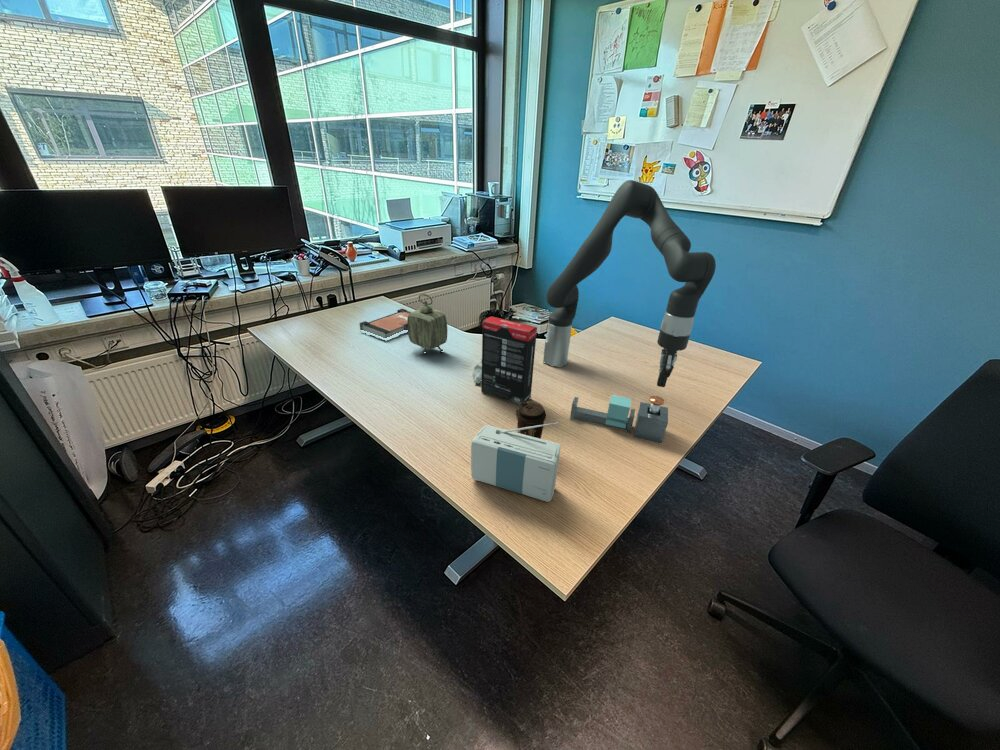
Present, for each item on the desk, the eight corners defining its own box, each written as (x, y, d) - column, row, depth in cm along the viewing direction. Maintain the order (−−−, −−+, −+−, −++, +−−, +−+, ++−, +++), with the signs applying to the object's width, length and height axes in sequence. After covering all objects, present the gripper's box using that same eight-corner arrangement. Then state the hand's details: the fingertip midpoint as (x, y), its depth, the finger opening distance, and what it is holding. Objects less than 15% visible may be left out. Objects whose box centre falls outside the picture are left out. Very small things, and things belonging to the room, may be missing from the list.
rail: (569, 419, 126) (572, 403, 123) (572, 412, 130) (574, 396, 127) (630, 433, 121) (634, 417, 118) (631, 425, 125) (635, 409, 122)
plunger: (644, 420, 118) (649, 401, 114) (645, 413, 121) (650, 394, 118) (658, 423, 116) (664, 404, 113) (659, 416, 120) (664, 397, 116)
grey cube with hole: (633, 437, 119) (639, 415, 115) (635, 423, 126) (640, 401, 122) (661, 443, 117) (668, 421, 113) (661, 428, 123) (667, 407, 120)
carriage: (605, 423, 122) (609, 403, 118) (607, 414, 126) (611, 394, 123) (625, 428, 120) (630, 407, 117) (626, 419, 125) (631, 398, 121)
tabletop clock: (448, 352, 166) (446, 295, 154) (434, 360, 159) (430, 300, 147) (422, 344, 173) (418, 288, 161) (407, 351, 166) (402, 293, 154)
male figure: (511, 338, 158) (487, 368, 138) (510, 359, 163) (487, 391, 143) (485, 334, 161) (458, 362, 141) (485, 354, 166) (459, 385, 146)
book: (386, 342, 174) (385, 332, 172) (360, 333, 182) (359, 323, 180) (428, 325, 193) (427, 316, 191) (403, 317, 202) (402, 308, 199)
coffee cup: (512, 436, 117) (514, 399, 111) (539, 435, 118) (543, 399, 112) (515, 455, 110) (518, 417, 104) (545, 454, 111) (549, 416, 104)
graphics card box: (532, 398, 137) (538, 324, 124) (523, 407, 131) (529, 331, 118) (489, 385, 144) (491, 314, 131) (479, 393, 138) (480, 320, 125)
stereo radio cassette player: (469, 482, 100) (469, 418, 91) (482, 462, 107) (483, 400, 97) (549, 507, 94) (558, 440, 84) (557, 484, 101) (566, 420, 91)
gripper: (661, 319, 111) (647, 373, 120) (660, 336, 100) (646, 394, 109) (689, 323, 109) (674, 378, 118) (692, 341, 98) (675, 399, 107)
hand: (660, 385), depth 113 cm, fingers closed
